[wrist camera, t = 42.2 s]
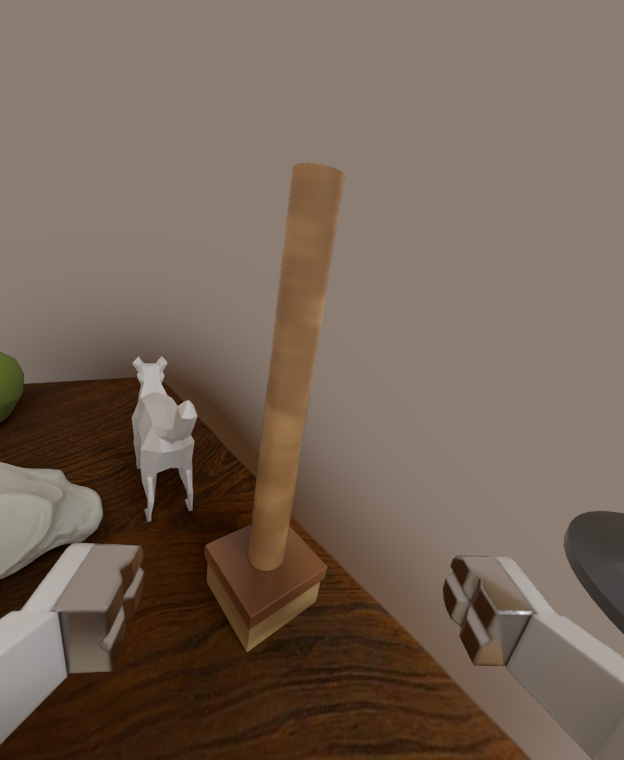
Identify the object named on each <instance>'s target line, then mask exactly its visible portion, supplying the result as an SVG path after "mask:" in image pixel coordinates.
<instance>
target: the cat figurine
mask: <svg viewBox="0 0 624 760" xmlns="http://www.w3.org/2000/svg"><path fill="white" fill-rule="evenodd" d="M132 364H133V365H134V367H135V368H136V369H137V371H138V374H137V377H138V380H139V382H140V384H141V389H140V393H139V399H138V404H137V407H136V409H135V412H134V414H133V416H132V423H133V432H134V448H135V454H136V460H137V461H136V465H137V469H140V468H141V477H142V483H143V486H144V490H145V493H146V496H147V504H148V508H147V509H145V514H146V518H147V522H150V521H151V513H152V509H153V504H154V498H155V488H156V479H157V473H158V472H161V471H163V470H166V469H169V468H178V469H179V475H180V477H181V479H182V481H183V484H184V486H185V488H186V492H187V497H188V499H186V500H185V502H186V505H187V507H188V510H189V511H192V510H193V509H192V506H193V488H192V454H193V448H194V440H193V438H192V436H191V432H192V430H193V428H194V425H195V422H196V419H197V414H196V411H195V408H194V405H193V404H192V403H191V402H190V401H189V400H187V401H185V402H183V403H182V404H180V405H179V406H178V407H177V404H176V403H175V402H174V400H173V399H172V398H171V397H169V396H167V394H166V392H165V390H164V388H163V386H162V382H163V379H164V374H163V369H164V368H165V366H166V365H167V361H166V360H165V359H164V358H163V357H161V358H160V359H159V360H158V361H157V363H155V364H144V363H143V362H142V360H141V359H140V358H139V357H138V358H137V359H136V360H135V361H134V362H133V363H132Z"/></svg>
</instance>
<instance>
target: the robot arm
mask: <svg viewBox="0 0 624 760" xmlns="http://www.w3.org/2000/svg"><path fill="white" fill-rule="evenodd" d="M143 558H144V552H143V547H142V546H133V545H116V544H99V543H97V544H92V543H73V544H72V545H70V546H69V547H68V548H67V549H66V550H65V551H64V553H63V554H62V555H61V557H60V558H59V559H58V561H57V562H56V563H55V565H54V566H53V567H52V569H51V570H50V571H49V573H48V574H47V576H46V577H45V578H44V580H43V581H42V582H41V584H40V585H39V586H38V588H37V589H36V590H35V592H34V593H33V594H32V596H31V597H30V598H29V600H28V601H27V602H26V604H25V605H24V606H23V608H22V609H21V610H20V611H11V612H10V613H8V614H7V615H5V616H4V617H2V618H1V619H0V744H1V743H2V742H3V741H4V740H5V739H6V738H7V737H8V736H9V735H10V734H11V733H12V732H13V731H14V730H15V729H16V728H17V727H18V726H19V725H20V724H21V723H22V722H23V721H24V720H25V719H26V718H27V717H28V716H29V715H30V714H31V713H32V712H33V711H34V710H35V709H36V708H37V707H38V706H39V705H40V704H41V703H42V702H43V701H44V700H45V699H46V698H47V697H48V696H49V695H50V694H51V693H52V692H53V690H54V689H55V688H56V687H57V686H58V685H59V684H60V683H61V682H62V681H63V680H64V679H65V678H66V677H67V673H86V672H107V671H112V670H113V667H114V665H115V662H116V660H117V658H118V655H119V653H120V650H121V648H122V645H123V643H124V641H125V638H126V629H125V624H127V623H128V622H129V621H130V620H131V619H132V618H133V617H134V616H135V614H136V611H137V609H138V606H139V603H140V600H141V596H142V592H143V587H144V571H143V570H142V569H141V568H140V565H141V563H142V561H143ZM451 568H452V570H453V573H452V574H451V575H449V576H448V577H447V578H446V579H445V583H444V586H443V596H444V597H443V598H444V602H445V606H446V609H447V611H448V613H449V615H450V618H451V619H452V620H454V622H456V623H457V624H458V625H459V626H460V627H461V628H460V638H461V640H462V642H463V644H464V646H465V649H466V650H467V652H468V655H469V657H470V659H471V661H472V663H473V665H475V666H476V665H477V666H506V669H507V670H508V671H509V672H510V673H511V674H512V675H513V677H515V679H516V680H517V681H518V682H519V683H520V684H521V685H522V686H523V687H524V688H525V689H526V690H527V691H528V692H529V693H530V694H531V695H532V696H533V698H534V699H535V700H536V701H537V702H538V703H539V704H540V705H541V706H542V707H543V708H544V709H545V710H546V711H547V712H548V713H549V714H550V715H551V717H552V718H553V719H554V720H555V721H556V722H557V723H558V724H559V725H560V726H561V727H562V728H563V729H564V730H565V731H566V732H567V733H568V734H569V735H570V737H572V739H573V740H574V741H576V743H577V744H578V745H579V746H580V747H581V748H582V749H583V750H584V751H585V752H586V753H587V754H588V755H589V757H590V758H591V759H592V760H624V658H623V657H622V656H620V655H619V654H617V653H616V652H615V651H613V650H612V649H610V648H609V647H607V646H606V645H605V644H603V643H602V642H600V641H599V640H598V639H596V638H595V637H593V636H592V635H590V634H589V633H588V632H586V631H584V630H583V629H582V628H580V627H579V626H578V625H576V624H575V623H573V622H572V621H570V620H569V619H568V618H566V617H565V616H563V615H557V614H556V613H555V612H554V611H553V609H552V608H551V607H550V605H549V604H548V603H547V602H546V600H545V599H544V598H543V596H542V595H541V594H540V593H539V592H538V590H537V589H536V588H535V586H534V585H533V584H532V583H531V581H530V580H529V579H528V577H527V576H526V575H525V574H524V572H523V571H522V570H521V569H520V567H519V566H518V565H517V564H516V562H515V561H514V560H512V559H511V558H509V557H489V556H456V557H455V558H454V559H453V560H452V563H451Z"/></svg>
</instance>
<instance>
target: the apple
mask: <svg viewBox="0 0 624 760" xmlns="http://www.w3.org/2000/svg"><path fill="white" fill-rule="evenodd" d="M23 383H24V373H23V371H22V369H21V368H20V366H19V364H18V363H17V361H16V360H15V359H14V358H13V357H10V356H8V355H6V354H4V353H2V352H0V423H1V422H2V421H3V420H5V419H6V418H7V417H8V416H9V415H10V414H11V412H12V410H13V409H14V407H15V405H16V404H17V402H18V400H19V399H20V397H21V395H22V393H23Z"/></svg>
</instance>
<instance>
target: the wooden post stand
mask: <svg viewBox="0 0 624 760" xmlns="http://www.w3.org/2000/svg"><path fill="white" fill-rule="evenodd" d="M344 179H345V176H344V174H343V173H342V172H341V171H339V170H337V169H335V168H332V167H329V166H326V165H321V164H315V163H298V164H295V165H293V167H292V173H291V182H290V191H289V201H288V209H287V218H286V226H285V235H284V244H283V252H282V261H281V270H280V279H279V287H278V296H277V305H276V314H275V322H274V331H273V340H272V348H271V357H270V366H269V375H268V384H267V393H266V401H265V410H264V419H263V427H262V436H261V445H260V453H259V462H258V471H257V480H256V488H255V497H254V506H253V515H252V523H251V525H248V526H246V527H244V528H242V529H239V530H237V531H235V532H233V533H231V534H228V535H226V536H224V537H222V538H219V539H217V540H215V541H213V542H211V543H208V544H206V545H205V558H206V560H207V562H208V568H207V583H208V585H209V587H210V589H211V591H212V592H213V594H214V596H215V598H216V599H217V601H218V603H219V605H220V606H221V608H222V610H223V612H224V613H225V615H226V617H227V619H228V621H229V622H230V624H231V626H232V628H233V629H234V631H235V633H236V635H237V636H238V638H239V640H240V642H241V643H242V645H243V647H244V649H245V651H246V652H248V651H250V650H251V649H252V648H254V647H255V646H256V645H258V644H259V643H260V642H262V641H263V640H265V639H266V638H267V637H269V636H270V635H271V634H273V633H274V632H275V631H277V630H278V629H279V628H281V627H282V626H284V625H285V624H286V623H288V622H289V621H290V620H292V619H293V618H294V617H296V616H297V615H298V614H300V613H301V612H302V611H304V610H305V609H307V608H308V607H309V606H311V605H312V604H313V603H315V602H316V599H317V595H318V590H319V585H320V581H322V580H323V579H324V578H325V575H326V570H327V566H326V565H325V564H324V563H323V562H322V560H321V559H320V558H319V557H318V556H317V555H316V554H315V553H314V552H313V551H312V550H311V549H310V548H309V547H308V546H307V544H306V543H305V542H304V541H303V540H302V539H301V538H300V537H299V536H298V535H297V534H296V533H295V532H294V531H293V530H292V528H291V527H290V526H289V523H290V517H291V510H292V504H293V498H294V492H295V485H296V479H297V473H298V467H299V460H300V454H301V448H302V442H303V435H304V429H305V423H306V417H307V410H308V404H309V398H310V391H311V385H312V379H313V373H314V367H315V359H316V354H317V348H318V342H319V335H320V329H321V323H322V316H323V311H324V304H325V298H326V292H327V286H328V279H329V273H330V267H331V261H332V254H333V248H334V242H335V235H336V229H337V223H338V216H339V211H340V204H341V198H342V192H343V186H344Z"/></svg>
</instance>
